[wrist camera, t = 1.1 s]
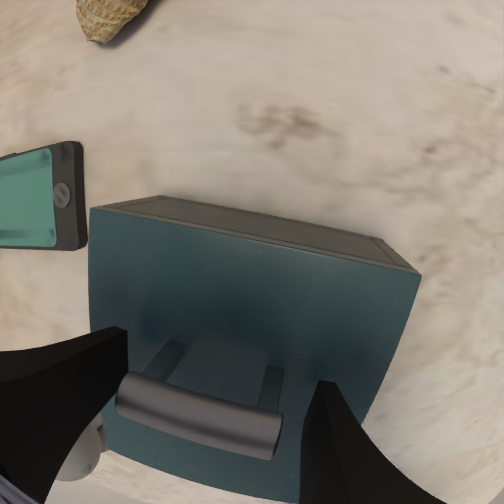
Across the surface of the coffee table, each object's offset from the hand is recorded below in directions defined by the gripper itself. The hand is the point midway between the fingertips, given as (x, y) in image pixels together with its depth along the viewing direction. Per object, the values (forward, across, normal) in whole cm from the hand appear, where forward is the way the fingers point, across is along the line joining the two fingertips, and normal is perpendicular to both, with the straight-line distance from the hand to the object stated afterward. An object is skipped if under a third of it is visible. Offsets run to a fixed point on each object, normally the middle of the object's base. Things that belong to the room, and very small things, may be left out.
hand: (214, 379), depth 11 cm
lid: (+2, 0, +2) cm, 3 cm away
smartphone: (+8, +19, -3) cm, 21 cm away
